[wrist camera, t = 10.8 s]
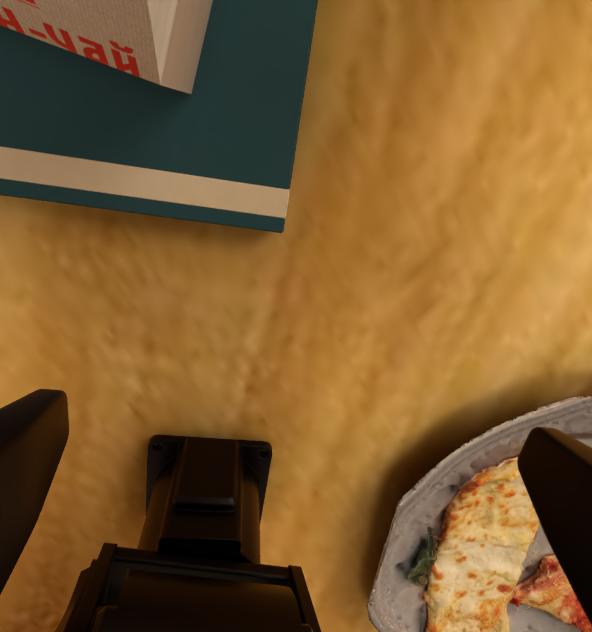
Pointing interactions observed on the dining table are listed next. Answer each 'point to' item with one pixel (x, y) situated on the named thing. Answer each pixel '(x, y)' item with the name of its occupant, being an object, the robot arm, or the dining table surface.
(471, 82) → the dining table surface
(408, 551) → the food plate
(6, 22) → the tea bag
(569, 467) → the robot arm
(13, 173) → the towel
